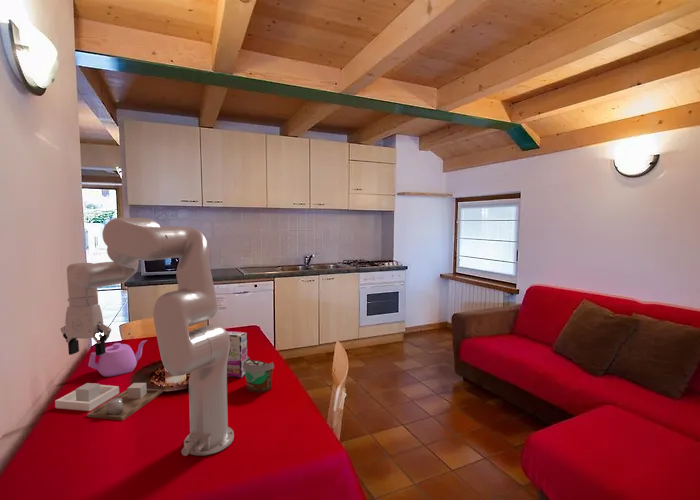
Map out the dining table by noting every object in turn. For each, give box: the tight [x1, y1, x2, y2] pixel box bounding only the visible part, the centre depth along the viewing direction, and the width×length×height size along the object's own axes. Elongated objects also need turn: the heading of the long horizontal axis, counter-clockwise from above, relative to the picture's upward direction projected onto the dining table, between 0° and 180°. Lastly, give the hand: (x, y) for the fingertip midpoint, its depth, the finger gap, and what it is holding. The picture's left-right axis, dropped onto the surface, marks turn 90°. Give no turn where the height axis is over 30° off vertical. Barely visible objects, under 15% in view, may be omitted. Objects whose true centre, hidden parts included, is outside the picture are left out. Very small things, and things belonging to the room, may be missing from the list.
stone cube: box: [75, 382, 101, 402], centre depth 120 cm, size 4×4×4 cm
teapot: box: [87, 339, 148, 378], centre depth 144 cm, size 13×20×11 cm
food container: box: [243, 356, 275, 394], centre depth 129 cm, size 12×6×10 cm, turn 62°
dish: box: [54, 384, 120, 412], centre depth 120 cm, size 12×12×3 cm
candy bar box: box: [226, 330, 248, 379], centre depth 142 cm, size 11×5×16 cm, turn 76°
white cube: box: [126, 382, 148, 399], centre depth 123 cm, size 4×4×4 cm
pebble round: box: [105, 397, 123, 415], centre depth 112 cm, size 4×4×4 cm
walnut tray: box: [86, 388, 163, 421], centre depth 118 cm, size 18×12×1 cm, turn 172°
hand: (87, 353), depth 118 cm, fingers open, 9 cm apart
